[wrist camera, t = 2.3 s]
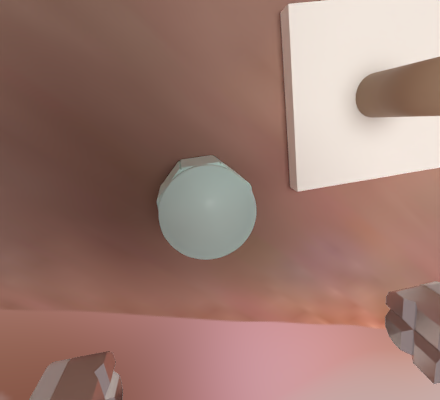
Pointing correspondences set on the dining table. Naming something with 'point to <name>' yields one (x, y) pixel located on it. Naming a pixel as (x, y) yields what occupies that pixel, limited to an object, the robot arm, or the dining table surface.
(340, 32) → the post stand
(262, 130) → the dining table surface
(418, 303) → the robot arm
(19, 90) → the dining table surface
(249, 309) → the dining table surface
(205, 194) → the cap
